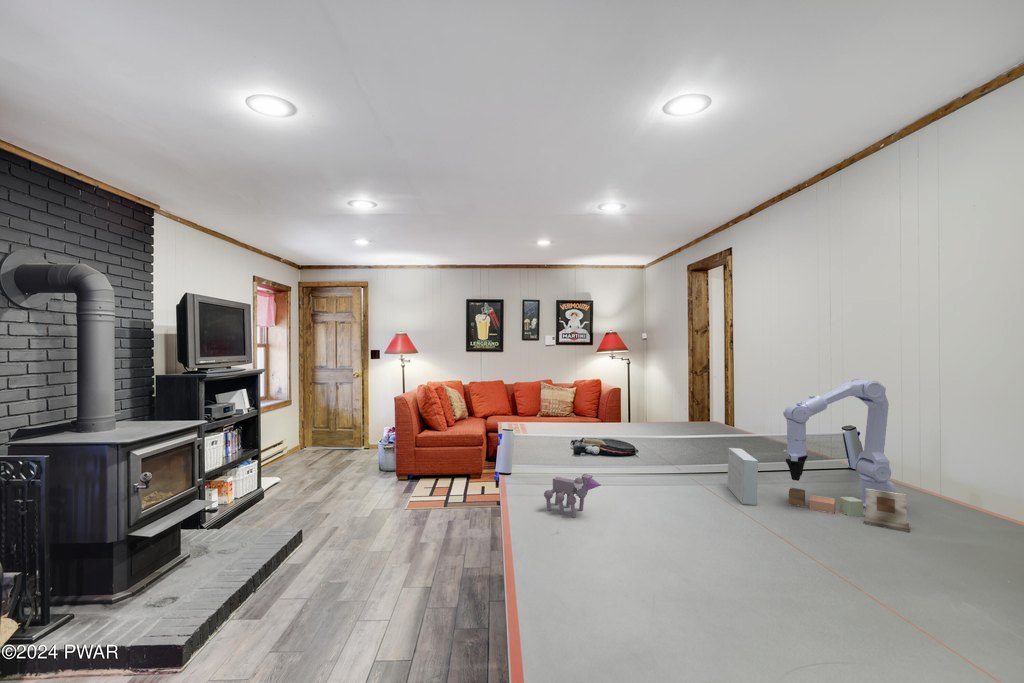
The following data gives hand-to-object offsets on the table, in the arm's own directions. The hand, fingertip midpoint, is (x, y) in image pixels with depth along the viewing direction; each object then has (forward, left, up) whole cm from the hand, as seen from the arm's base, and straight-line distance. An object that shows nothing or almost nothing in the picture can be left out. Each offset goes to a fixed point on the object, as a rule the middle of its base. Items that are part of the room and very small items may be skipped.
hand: (796, 477), depth 163 cm
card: (-21, +13, -9) cm, 27 cm away
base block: (-7, +2, -10) cm, 12 cm away
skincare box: (+17, -5, -10) cm, 20 cm away
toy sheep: (+74, +31, -10) cm, 81 cm away
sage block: (-14, +5, -10) cm, 18 cm away
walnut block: (0, 0, -10) cm, 10 cm away
